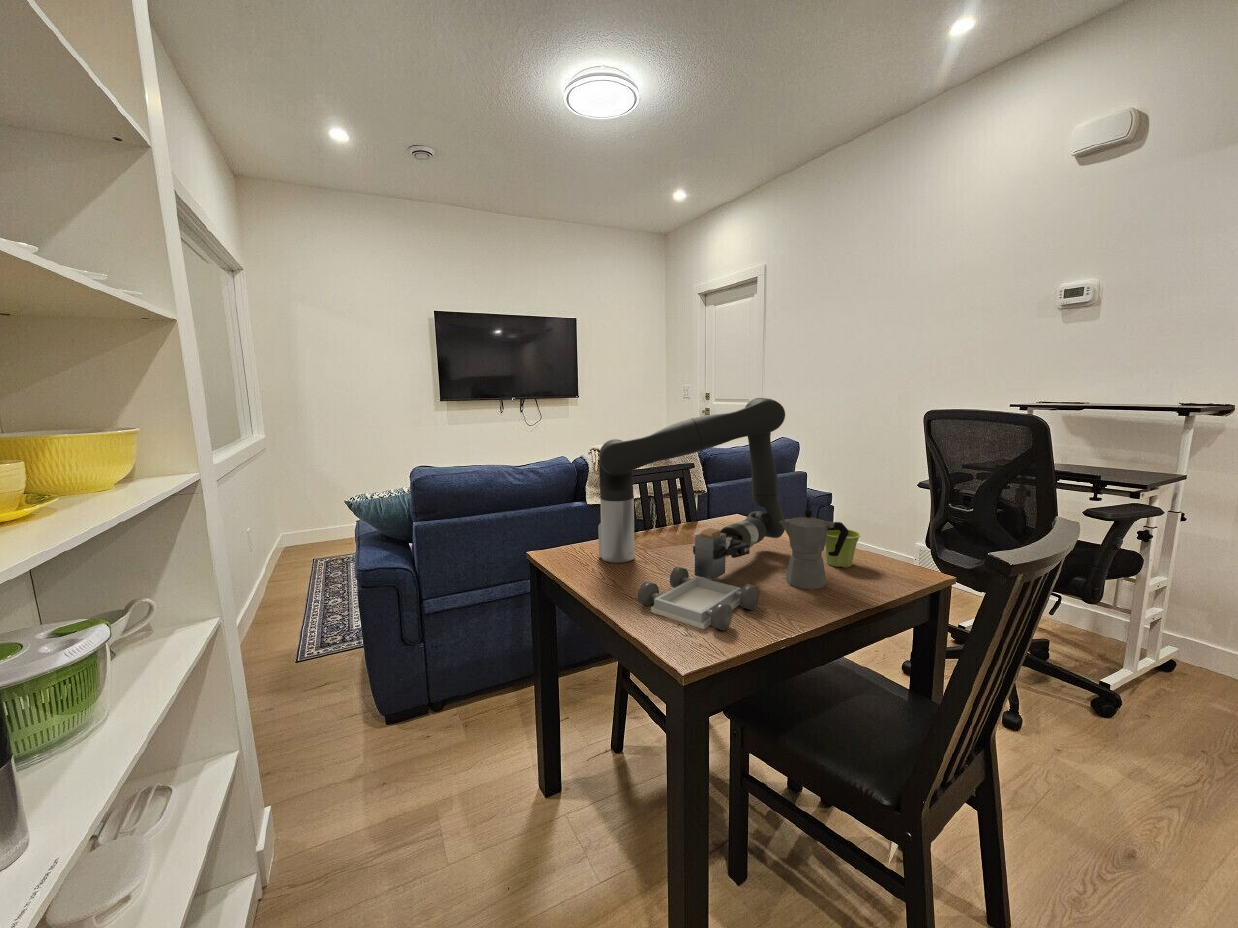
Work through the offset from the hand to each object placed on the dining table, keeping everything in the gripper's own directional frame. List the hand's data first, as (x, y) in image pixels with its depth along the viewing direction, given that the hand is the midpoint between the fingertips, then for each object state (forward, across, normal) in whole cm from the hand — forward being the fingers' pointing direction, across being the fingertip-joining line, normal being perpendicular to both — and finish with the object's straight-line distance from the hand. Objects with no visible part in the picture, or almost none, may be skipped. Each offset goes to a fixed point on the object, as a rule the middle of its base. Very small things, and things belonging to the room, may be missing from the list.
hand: (704, 553), depth 122 cm
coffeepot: (-17, +19, +8) cm, 27 cm away
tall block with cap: (-3, 0, +6) cm, 7 cm away
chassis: (+11, +5, +8) cm, 15 cm away
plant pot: (-35, +20, +8) cm, 41 cm away
